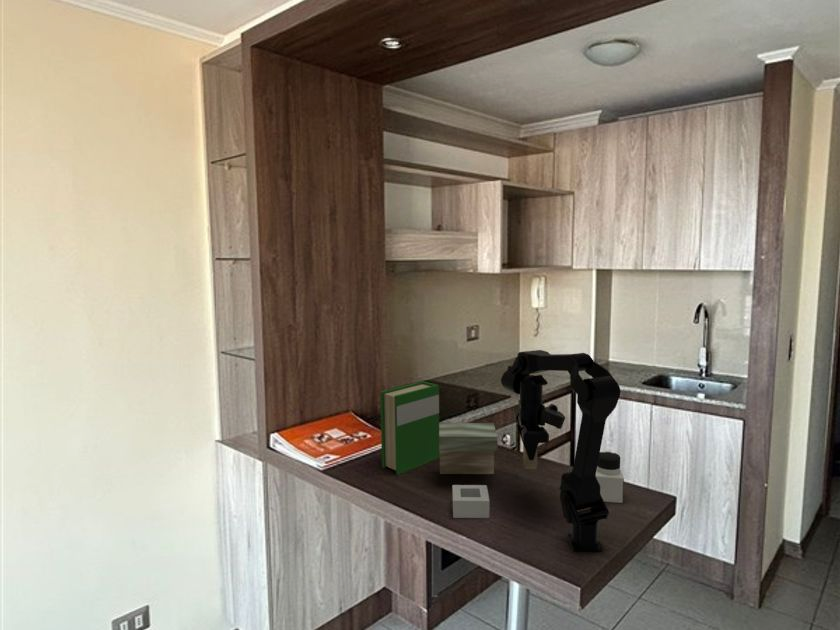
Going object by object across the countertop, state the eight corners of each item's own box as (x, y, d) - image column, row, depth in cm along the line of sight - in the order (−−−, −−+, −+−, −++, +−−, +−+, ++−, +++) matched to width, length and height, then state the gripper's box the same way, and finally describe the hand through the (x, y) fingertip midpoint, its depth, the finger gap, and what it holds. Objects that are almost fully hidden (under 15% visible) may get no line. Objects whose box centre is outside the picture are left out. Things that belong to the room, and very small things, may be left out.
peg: (537, 469, 142) (538, 435, 141) (524, 469, 142) (524, 435, 141) (535, 463, 145) (536, 431, 144) (522, 463, 145) (522, 431, 144)
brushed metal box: (497, 489, 153) (497, 437, 151) (439, 488, 154) (439, 436, 152) (493, 471, 165) (493, 423, 163) (439, 471, 166) (439, 422, 164)
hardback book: (398, 475, 163) (396, 396, 160) (381, 467, 169) (380, 391, 166) (439, 458, 176) (438, 385, 172) (423, 452, 181) (422, 381, 178)
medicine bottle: (623, 503, 144) (624, 459, 142) (594, 501, 145) (595, 457, 144) (618, 491, 151) (620, 449, 149) (591, 489, 152) (593, 447, 151)
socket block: (489, 518, 137) (489, 501, 136) (453, 517, 137) (453, 500, 137) (486, 501, 146) (486, 485, 145) (452, 501, 146) (452, 484, 146)
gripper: (571, 409, 132) (569, 472, 134) (555, 389, 150) (554, 444, 152) (524, 409, 132) (523, 471, 134) (514, 389, 151) (513, 444, 153)
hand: (530, 457), depth 143 cm, fingers closed on peg, 3 cm apart
